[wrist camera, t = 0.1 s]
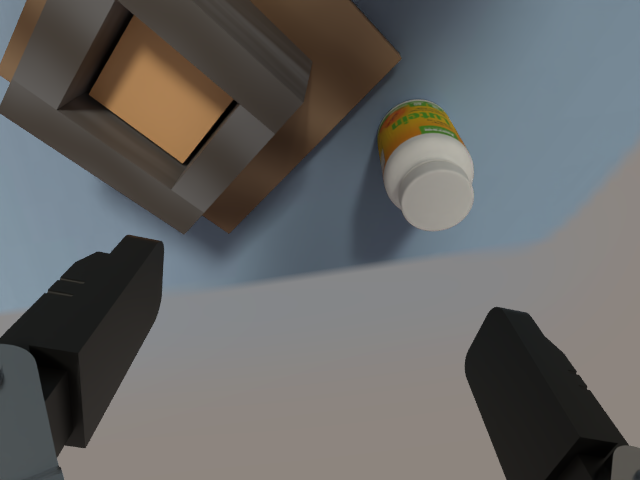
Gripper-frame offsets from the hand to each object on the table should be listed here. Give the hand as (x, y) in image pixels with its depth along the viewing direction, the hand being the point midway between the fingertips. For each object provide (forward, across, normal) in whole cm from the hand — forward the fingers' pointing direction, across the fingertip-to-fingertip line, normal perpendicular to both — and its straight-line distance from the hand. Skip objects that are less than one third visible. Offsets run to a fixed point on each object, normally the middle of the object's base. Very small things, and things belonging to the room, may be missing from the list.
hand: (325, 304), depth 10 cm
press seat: (+17, +9, -1) cm, 19 cm away
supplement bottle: (+23, -7, 0) cm, 24 cm away
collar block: (+22, +9, -2) cm, 24 cm away
